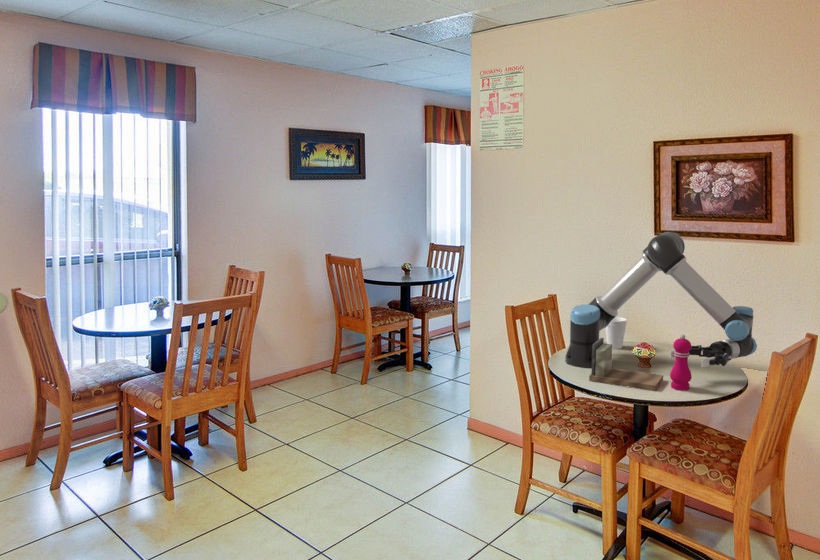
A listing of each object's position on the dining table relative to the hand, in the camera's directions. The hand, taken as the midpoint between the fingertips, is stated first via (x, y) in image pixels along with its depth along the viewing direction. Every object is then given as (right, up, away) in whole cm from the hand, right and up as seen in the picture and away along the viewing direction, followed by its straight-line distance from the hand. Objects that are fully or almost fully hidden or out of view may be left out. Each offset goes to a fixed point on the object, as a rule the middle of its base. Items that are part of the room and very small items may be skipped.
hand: (685, 358), depth 231 cm
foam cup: (-7, -2, +58) cm, 58 cm away
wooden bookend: (-18, -10, +11) cm, 23 cm away
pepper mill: (-1, -11, +2) cm, 11 cm away
